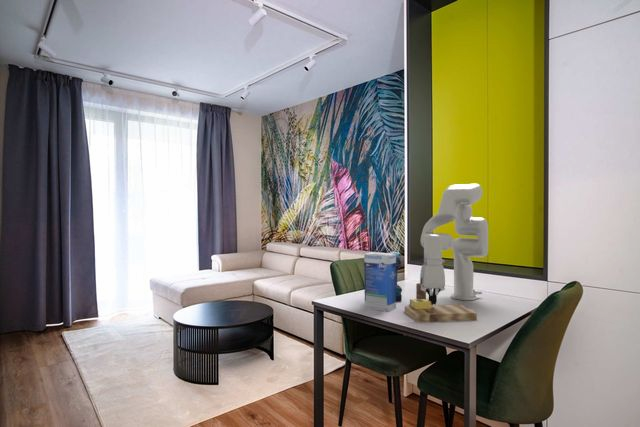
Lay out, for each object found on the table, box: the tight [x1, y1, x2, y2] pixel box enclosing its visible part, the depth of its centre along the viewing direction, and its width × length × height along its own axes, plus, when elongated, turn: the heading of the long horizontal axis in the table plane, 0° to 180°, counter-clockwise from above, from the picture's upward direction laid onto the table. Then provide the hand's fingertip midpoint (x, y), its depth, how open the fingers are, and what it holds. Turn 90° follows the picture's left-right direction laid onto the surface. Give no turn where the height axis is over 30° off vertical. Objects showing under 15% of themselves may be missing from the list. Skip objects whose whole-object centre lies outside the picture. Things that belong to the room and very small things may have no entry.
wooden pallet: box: [404, 304, 478, 323], centre depth 155 cm, size 26×15×3 cm, turn 97°
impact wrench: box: [388, 250, 403, 303], centre depth 185 cm, size 8×23×25 cm, turn 174°
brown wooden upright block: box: [415, 282, 427, 299], centre depth 170 cm, size 4×4×10 cm
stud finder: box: [410, 298, 431, 309], centre depth 158 cm, size 7×5×3 cm
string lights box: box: [363, 251, 397, 312], centre depth 168 cm, size 13×8×26 cm, turn 52°
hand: (432, 303), depth 159 cm, fingers closed
